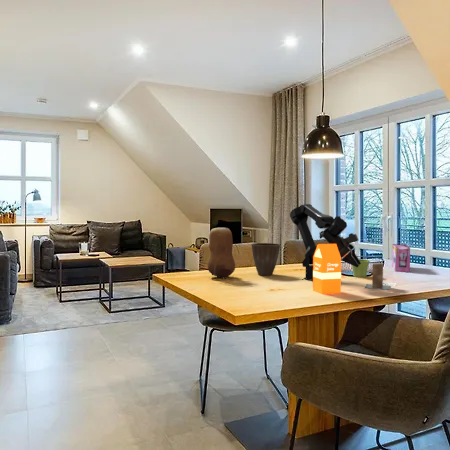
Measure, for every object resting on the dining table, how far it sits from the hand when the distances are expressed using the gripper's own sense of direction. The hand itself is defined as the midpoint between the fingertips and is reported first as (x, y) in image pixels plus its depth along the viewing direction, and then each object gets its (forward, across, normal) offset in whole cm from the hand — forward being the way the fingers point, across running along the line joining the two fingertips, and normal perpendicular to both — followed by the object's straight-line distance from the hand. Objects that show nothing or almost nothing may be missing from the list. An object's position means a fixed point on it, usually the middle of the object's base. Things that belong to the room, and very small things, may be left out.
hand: (359, 265), depth 195 cm
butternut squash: (-40, -2, +54) cm, 67 cm away
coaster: (+12, 0, +1) cm, 12 cm away
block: (+12, 0, +1) cm, 12 cm away
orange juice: (-1, -19, +15) cm, 24 cm away
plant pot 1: (-27, +16, +41) cm, 52 cm away
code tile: (+14, +10, -1) cm, 17 cm away
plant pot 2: (+6, +28, +8) cm, 29 cm away
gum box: (+19, +69, -4) cm, 72 cm away
